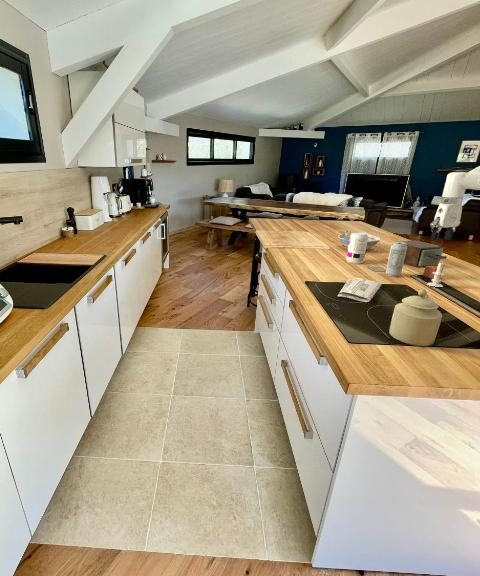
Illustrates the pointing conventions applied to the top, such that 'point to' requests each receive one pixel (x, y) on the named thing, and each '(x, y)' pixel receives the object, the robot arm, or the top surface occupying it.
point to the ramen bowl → (370, 243)
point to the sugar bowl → (416, 320)
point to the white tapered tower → (437, 276)
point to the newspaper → (360, 289)
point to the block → (430, 271)
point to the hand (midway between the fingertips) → (440, 240)
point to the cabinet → (416, 251)
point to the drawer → (430, 256)
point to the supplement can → (357, 247)
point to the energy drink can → (396, 259)
